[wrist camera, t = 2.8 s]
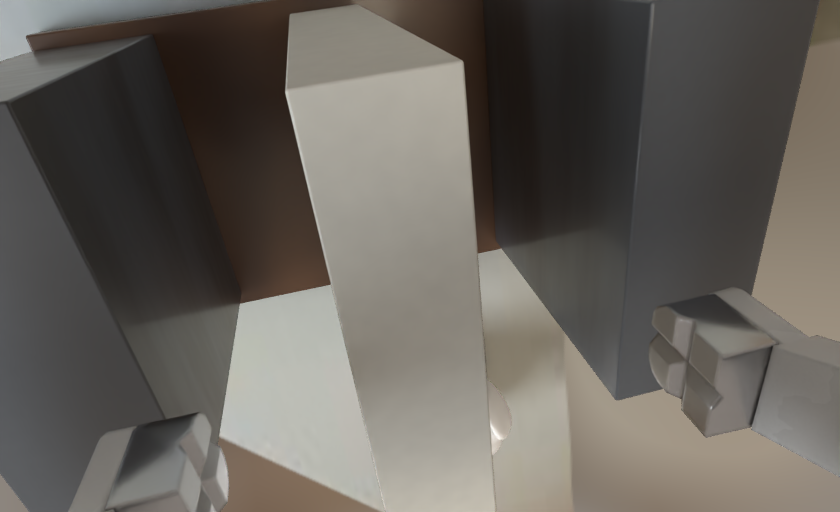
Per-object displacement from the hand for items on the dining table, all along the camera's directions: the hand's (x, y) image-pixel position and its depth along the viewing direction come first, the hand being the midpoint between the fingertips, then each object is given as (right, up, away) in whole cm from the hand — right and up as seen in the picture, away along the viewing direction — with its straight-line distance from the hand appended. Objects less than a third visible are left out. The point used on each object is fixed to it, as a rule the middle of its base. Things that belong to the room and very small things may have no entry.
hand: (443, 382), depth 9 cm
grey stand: (-4, +7, +13) cm, 15 cm away
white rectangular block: (-3, +6, +13) cm, 14 cm away
